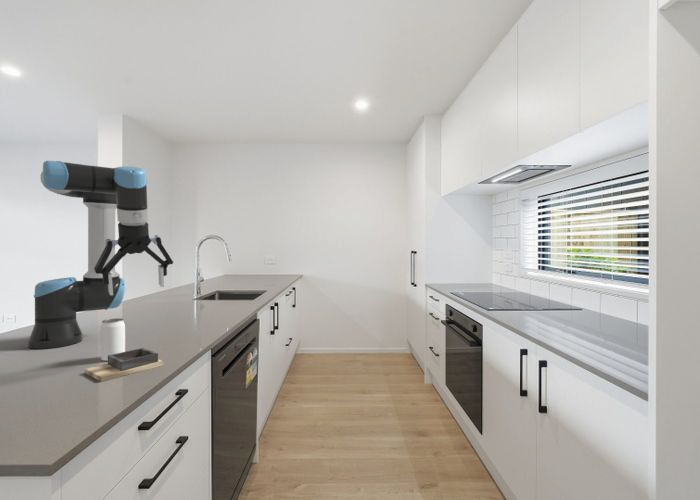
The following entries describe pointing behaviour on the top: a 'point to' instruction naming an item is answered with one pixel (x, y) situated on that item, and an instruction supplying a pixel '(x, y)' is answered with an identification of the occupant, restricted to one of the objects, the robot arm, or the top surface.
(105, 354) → the can
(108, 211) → the robot arm
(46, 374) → the top surface
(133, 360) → the seat block
